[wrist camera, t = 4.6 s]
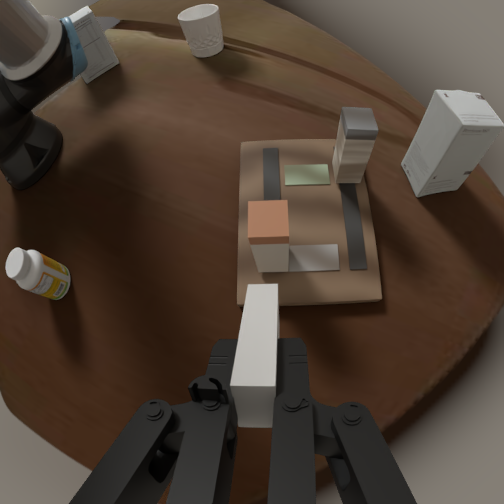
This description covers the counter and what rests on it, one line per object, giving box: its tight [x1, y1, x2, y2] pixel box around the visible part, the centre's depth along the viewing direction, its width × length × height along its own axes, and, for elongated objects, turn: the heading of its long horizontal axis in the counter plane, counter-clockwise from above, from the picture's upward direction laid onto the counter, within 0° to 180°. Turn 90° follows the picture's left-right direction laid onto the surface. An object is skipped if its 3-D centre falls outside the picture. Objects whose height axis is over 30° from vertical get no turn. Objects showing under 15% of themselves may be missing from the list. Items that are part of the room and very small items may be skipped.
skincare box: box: [401, 90, 504, 197], centre depth 30 cm, size 8×6×15 cm
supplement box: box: [69, 6, 119, 84], centre depth 48 cm, size 10×9×17 cm
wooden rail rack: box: [237, 107, 382, 307], centre depth 31 cm, size 22×16×12 cm
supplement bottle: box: [6, 248, 70, 300], centre depth 33 cm, size 5×5×10 cm
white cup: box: [178, 4, 224, 58], centre depth 47 cm, size 8×8×10 cm
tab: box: [248, 200, 289, 272], centre depth 29 cm, size 3×3×10 cm
